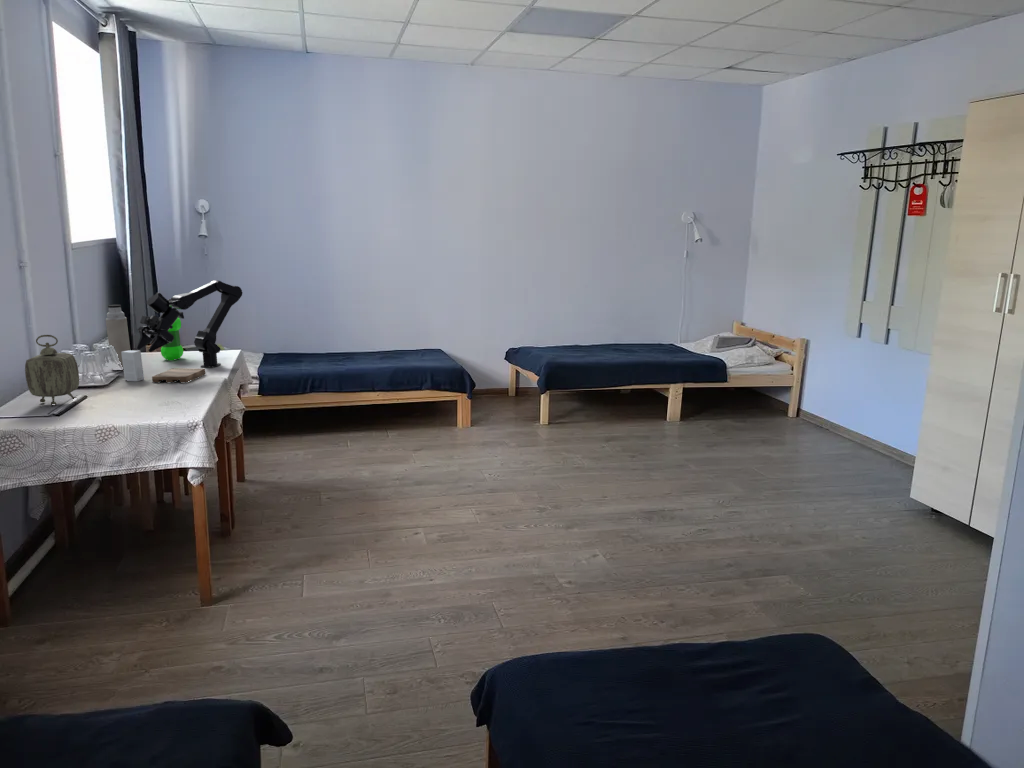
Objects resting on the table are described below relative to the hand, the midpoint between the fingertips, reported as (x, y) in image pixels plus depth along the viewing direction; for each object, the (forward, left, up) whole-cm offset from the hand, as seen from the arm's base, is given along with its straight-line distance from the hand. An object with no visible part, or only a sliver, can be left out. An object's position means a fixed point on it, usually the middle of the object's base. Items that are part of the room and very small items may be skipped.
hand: (143, 350), depth 303 cm
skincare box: (+4, -3, -12) cm, 13 cm away
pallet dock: (0, +14, -12) cm, 18 cm away
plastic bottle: (-39, -10, -12) cm, 41 cm away
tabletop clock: (+43, -9, -12) cm, 46 cm away
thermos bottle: (-17, -21, -12) cm, 29 cm away
